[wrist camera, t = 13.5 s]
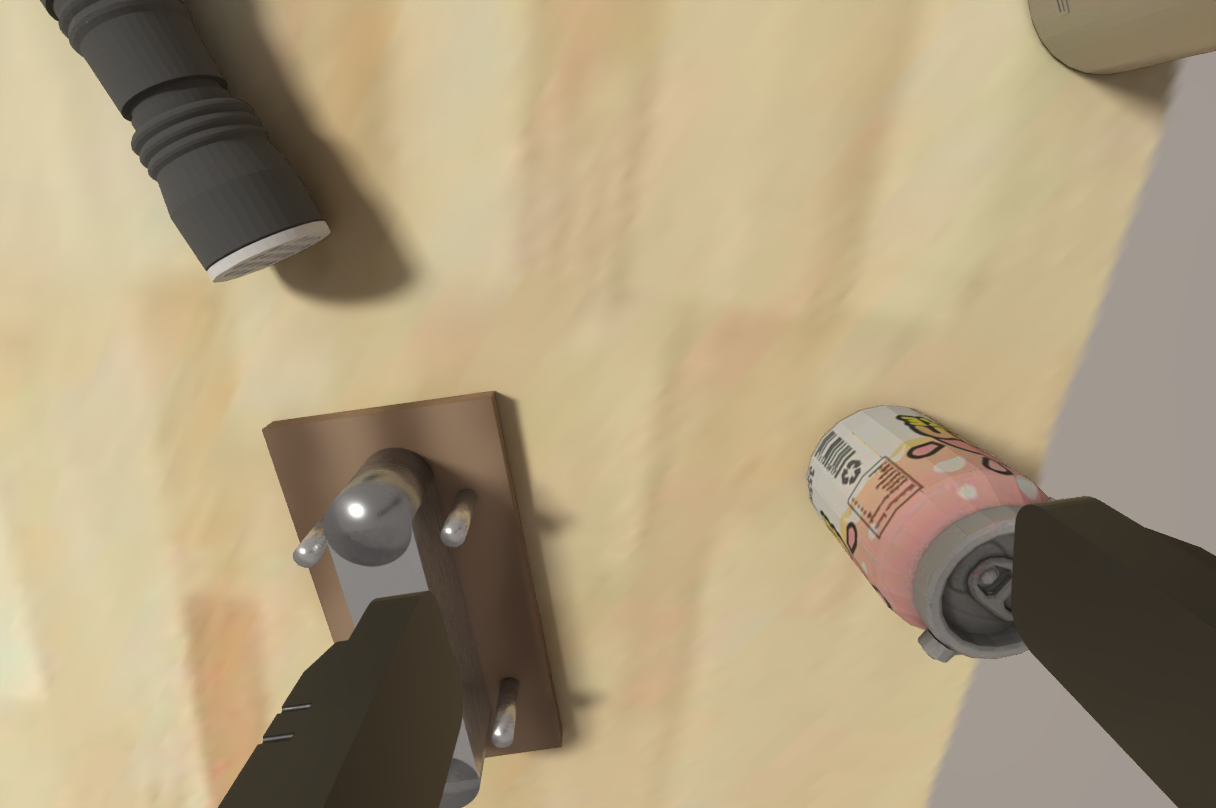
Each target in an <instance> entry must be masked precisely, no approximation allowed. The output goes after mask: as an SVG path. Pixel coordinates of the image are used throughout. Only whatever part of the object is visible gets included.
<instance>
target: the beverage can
mask: <svg viewBox="0 0 1216 808" xmlns="http://www.w3.org/2000/svg"><path fill="white" fill-rule="evenodd" d="M807 484H808V492H809V499H810V501H811V502H812V504H813V506H814V508H815V510H816V512H817V514H818V515H819V517H820V518H821V519H822V521H823V522H824V523H825V525H826V526H827V527H828V529H829V530H830V531H831V532H832V534H833V535H834V536H835V538H836V539H837V540H838V542H839V543H840V544H841V546H842V547H843V548H844V549H845V551H846V552H847V553H848V555H849V556H850V557H851V559H852V560H853V561H854V563H855V564H856V565H857V567H858V568H859V569H860V570H861V572H862V573H863V574H864V576H865V577H866V578H867V580H868V581H869V582H870V584H871V585H872V586H873V587H874V589H875V590H876V591H877V593H878V594H879V595H880V597H881V598H882V599H883V601H884V602H885V603H886V604H887V606H888V607H889V608H890V609H891V610H893V611H894V612H895V613H896V614H897V615H899V616H900V617H901V618H902V619H903V620H904V621H906V622H907V623H909V624H910V625H912V626H915V627H918V628H921V629H923V630H925V631H924V632H923V634H922V635H921V636H920V637H919V638H918V642H919V643H920V645H921V646H922V648H923V650H924V651H925V652H926V653H927V655H928V656H930V657H931V658H933V659H937V660H939V661H942V662H948V661H949V660H950V659H951V658H952V657H953V656H954V655H965V656H968V657H970V658H984V659H998V658H1002V657H1007V656H1012V655H1017V654H1021V653H1023V652H1025V651H1027V650H1029V649H1028V648H1027V646H1026V645H1025V643H1024V642H1023V640H1022V638H1021V637H1020V635H1019V633H1018V630H1017V628H1016V625H1015V623H1014V619H1013V616H1012V611H1011V586H1012V568H1013V551H1014V534H1015V521H1016V516H1017V513H1018V512H1019V510H1020V509H1021V508H1022V507H1023V506H1025V505H1029V504H1035V503H1042V502H1049V501H1056V500H1055V499H1053V498H1051V497H1048V496H1047V495H1046V494H1045V493H1044V492H1043V491H1042V490H1041V489H1040V488H1039V487H1038V486H1037V485H1036V484H1035V483H1034V482H1032V481H1031V480H1029V479H1027V478H1026V477H1024V476H1023V475H1021V474H1019V473H1018V472H1016V471H1014V470H1013V469H1011V468H1010V467H1008V466H1006V465H1005V464H1003V463H1002V462H1000V461H998V460H997V459H995V458H993V457H992V456H990V455H989V454H987V453H985V452H984V451H982V450H981V449H979V448H977V447H976V446H974V445H972V444H971V443H969V442H968V441H966V440H964V439H963V438H961V437H960V436H958V435H956V434H955V433H953V432H951V431H950V430H948V429H947V428H945V427H943V426H942V425H940V424H939V423H937V422H935V421H934V420H932V419H930V418H929V417H927V416H925V415H923V414H921V413H919V412H916V411H914V410H912V409H910V408H907V407H898V406H886V405H881V406H876V407H872V408H867V409H863V410H859V411H857V412H855V413H853V414H851V415H849V416H847V417H846V418H844V419H842V420H840V421H838V422H837V423H836V424H835V425H834V426H833V427H832V428H831V429H830V430H829V431H828V432H827V433H826V434H825V435H824V436H823V437H822V438H821V440H820V442H819V443H818V445H817V447H816V448H815V450H814V452H813V454H812V455H811V459H810V464H809V468H808V473H807ZM1060 500H1062V499H1060Z"/></svg>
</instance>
